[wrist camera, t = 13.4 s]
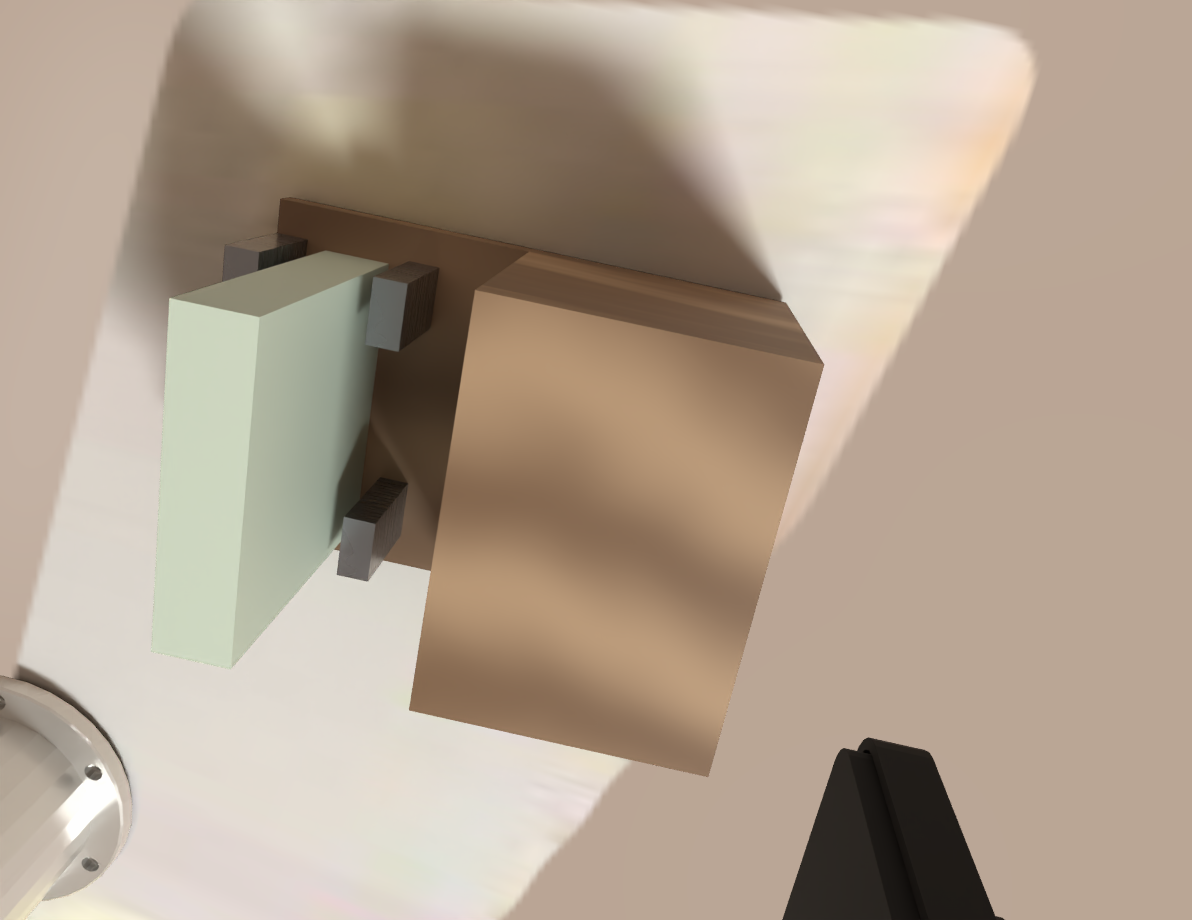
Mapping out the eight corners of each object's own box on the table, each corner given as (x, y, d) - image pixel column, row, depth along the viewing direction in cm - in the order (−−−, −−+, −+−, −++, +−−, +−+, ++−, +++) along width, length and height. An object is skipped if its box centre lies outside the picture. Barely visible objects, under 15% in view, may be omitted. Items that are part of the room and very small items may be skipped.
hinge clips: (400, 535, 41) (367, 581, 37) (253, 503, 41) (203, 545, 37) (439, 267, 37) (407, 283, 33) (277, 233, 37) (224, 244, 33)
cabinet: (702, 619, 42) (708, 776, 32) (260, 522, 43) (122, 646, 32) (785, 302, 38) (824, 364, 27) (290, 197, 38) (141, 218, 28)
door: (356, 523, 41) (230, 669, 30) (285, 507, 41) (131, 647, 30) (388, 263, 37) (259, 317, 26) (310, 247, 38) (147, 293, 26)
